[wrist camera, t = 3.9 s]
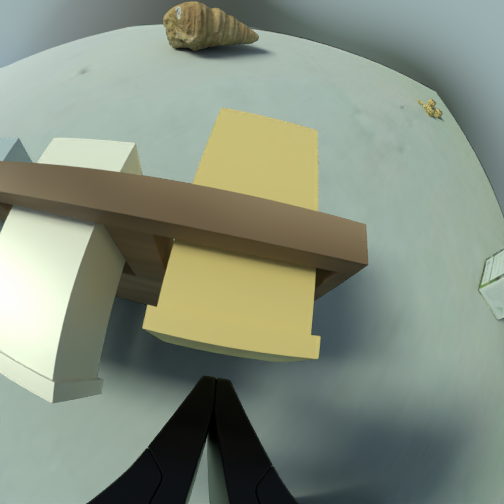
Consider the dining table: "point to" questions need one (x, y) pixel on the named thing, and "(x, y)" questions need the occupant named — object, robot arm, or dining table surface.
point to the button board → (184, 222)
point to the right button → (242, 264)
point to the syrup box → (494, 284)
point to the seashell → (204, 27)
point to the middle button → (60, 284)
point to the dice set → (431, 108)
